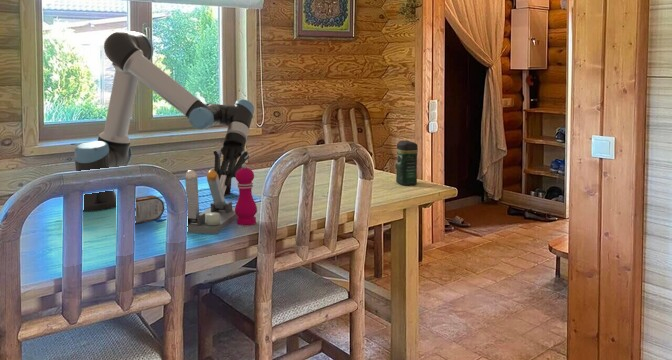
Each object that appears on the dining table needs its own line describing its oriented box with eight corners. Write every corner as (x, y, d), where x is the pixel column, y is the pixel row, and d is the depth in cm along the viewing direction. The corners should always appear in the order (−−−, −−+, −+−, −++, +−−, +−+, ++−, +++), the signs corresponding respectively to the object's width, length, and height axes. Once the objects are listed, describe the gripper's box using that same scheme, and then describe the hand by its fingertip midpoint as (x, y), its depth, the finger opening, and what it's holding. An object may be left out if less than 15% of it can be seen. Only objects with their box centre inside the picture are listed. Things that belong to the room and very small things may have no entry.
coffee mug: (228, 196, 239) (227, 171, 237) (208, 195, 241) (206, 170, 239) (239, 190, 250) (238, 166, 248) (219, 189, 252) (218, 165, 250)
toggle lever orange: (215, 213, 207) (203, 174, 196) (218, 206, 210) (207, 167, 199) (225, 213, 207) (214, 175, 196) (228, 206, 209) (217, 168, 198)
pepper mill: (238, 219, 204) (236, 161, 200) (259, 220, 204) (257, 161, 200) (232, 225, 197) (230, 165, 193) (254, 226, 197) (252, 165, 193)
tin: (161, 216, 209) (160, 193, 207) (166, 218, 207) (164, 194, 205) (119, 225, 199) (117, 200, 197) (123, 227, 197) (121, 201, 195)
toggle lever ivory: (186, 224, 191) (183, 170, 188) (190, 221, 195) (187, 168, 191) (196, 224, 191) (193, 171, 187) (201, 221, 194) (198, 169, 191)
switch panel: (180, 232, 190) (179, 216, 189) (211, 211, 215) (211, 197, 214) (216, 234, 188) (216, 218, 187) (244, 213, 213) (243, 199, 212)
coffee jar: (419, 185, 257) (420, 141, 254) (402, 186, 255) (403, 142, 252) (410, 180, 267) (411, 139, 263) (393, 182, 264) (394, 139, 261)
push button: (203, 225, 190) (203, 215, 189) (209, 221, 194) (208, 212, 193) (217, 225, 189) (216, 216, 188) (222, 222, 193) (221, 212, 193)
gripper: (256, 144, 220) (242, 199, 207) (222, 143, 223) (205, 198, 210) (250, 131, 214) (235, 187, 201) (215, 130, 217) (198, 186, 204)
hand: (220, 193), depth 206 cm, fingers closed
